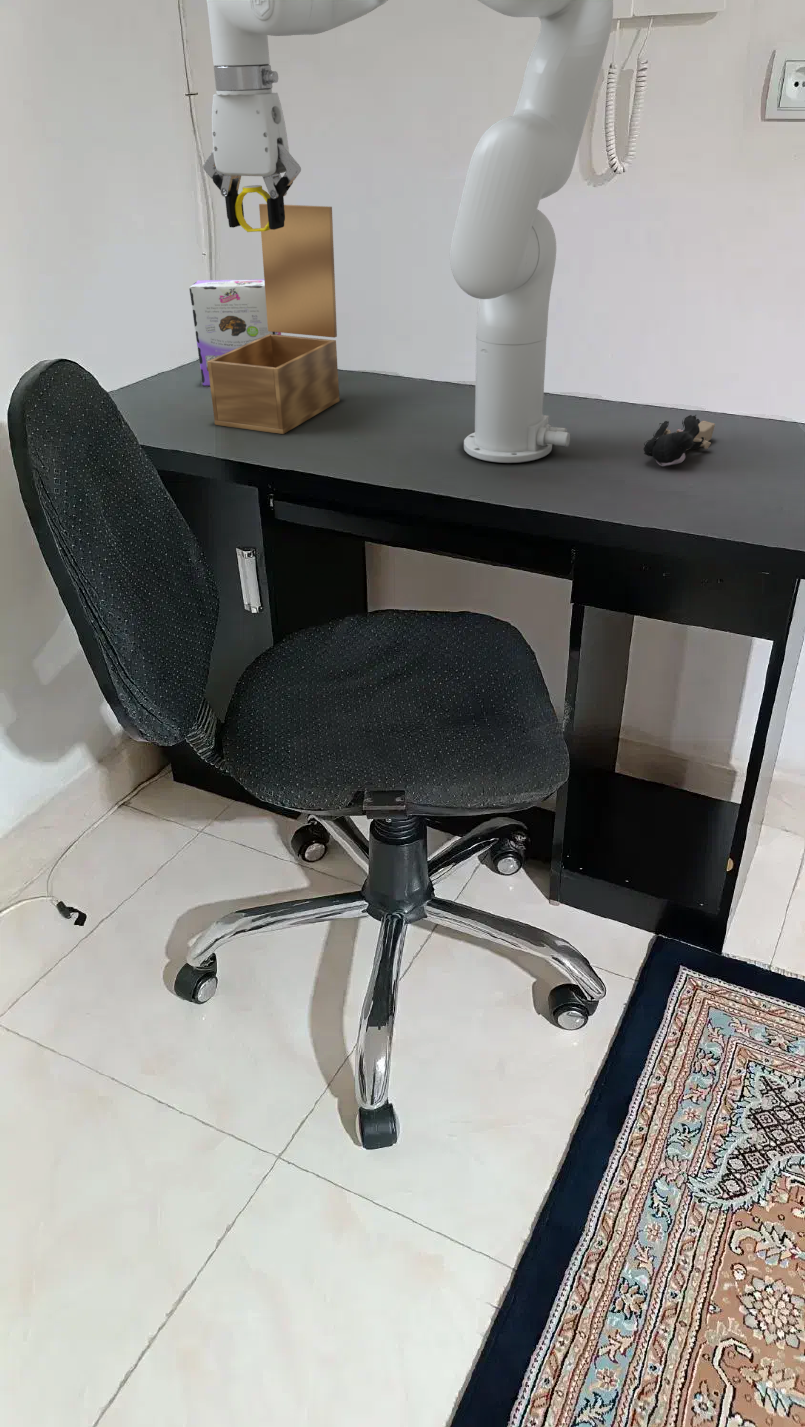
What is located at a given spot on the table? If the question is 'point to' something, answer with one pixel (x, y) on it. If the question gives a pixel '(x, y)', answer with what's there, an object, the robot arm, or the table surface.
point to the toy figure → (678, 440)
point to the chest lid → (300, 271)
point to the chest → (274, 382)
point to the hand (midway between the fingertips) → (256, 225)
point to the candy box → (227, 317)
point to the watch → (239, 206)
